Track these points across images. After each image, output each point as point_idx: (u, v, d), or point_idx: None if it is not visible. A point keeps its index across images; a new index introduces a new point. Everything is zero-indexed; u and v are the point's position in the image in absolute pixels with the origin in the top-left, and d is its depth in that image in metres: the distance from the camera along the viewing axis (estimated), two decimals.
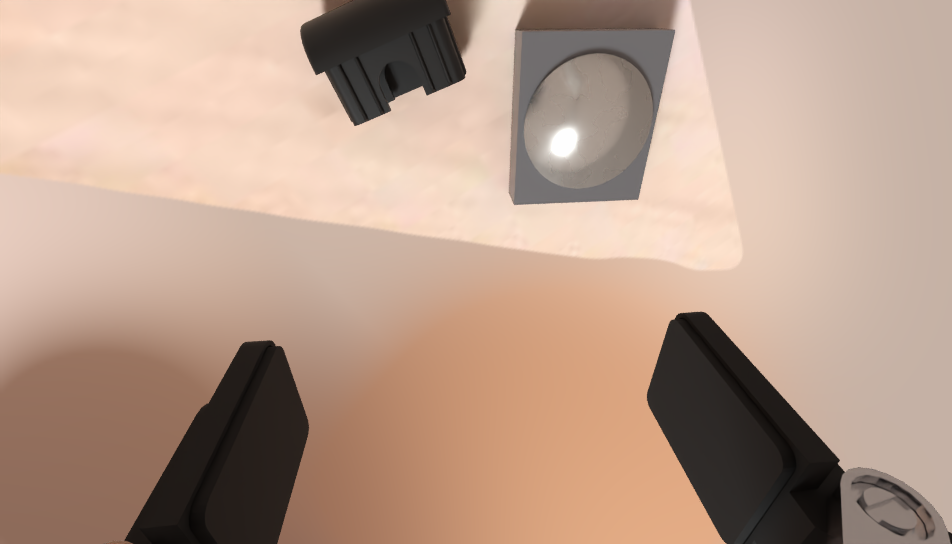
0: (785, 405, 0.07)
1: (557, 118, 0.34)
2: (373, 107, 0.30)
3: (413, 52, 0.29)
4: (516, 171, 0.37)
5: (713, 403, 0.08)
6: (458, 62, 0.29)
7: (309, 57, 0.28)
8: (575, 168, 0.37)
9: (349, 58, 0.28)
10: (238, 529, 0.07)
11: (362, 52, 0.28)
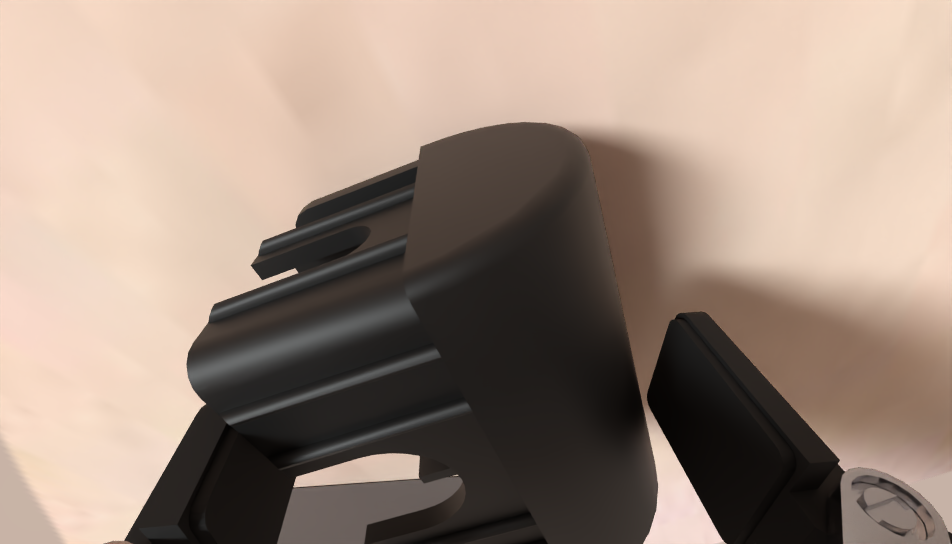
0: (785, 405, 0.07)
1: None
2: (290, 439, 0.07)
3: (488, 521, 0.09)
4: None
5: (713, 403, 0.08)
6: None
7: (490, 257, 0.05)
8: None
9: (482, 417, 0.06)
10: (238, 529, 0.07)
11: (502, 453, 0.07)
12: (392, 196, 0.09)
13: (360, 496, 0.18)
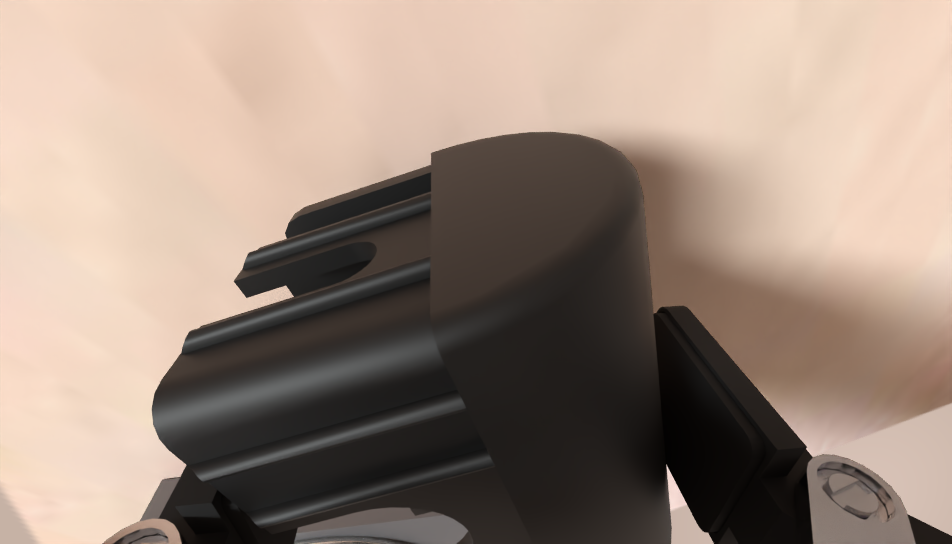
0: (757, 395, 0.07)
1: None
2: (275, 493, 0.06)
3: None
4: None
5: (690, 394, 0.09)
6: None
7: (539, 300, 0.04)
8: None
9: (509, 479, 0.05)
10: None
11: (527, 517, 0.06)
12: (401, 208, 0.08)
13: None
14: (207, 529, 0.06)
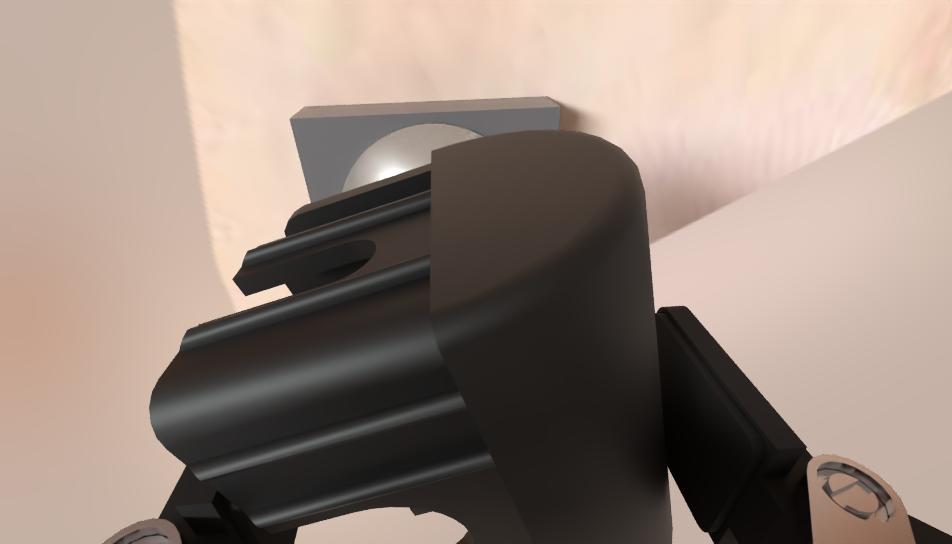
0: (757, 395, 0.07)
1: None
2: (273, 492, 0.06)
3: None
4: (353, 117, 0.21)
5: (690, 394, 0.09)
6: None
7: (540, 297, 0.04)
8: None
9: (509, 478, 0.05)
10: None
11: (527, 516, 0.06)
12: (400, 206, 0.08)
13: (432, 103, 0.23)
14: (207, 529, 0.06)
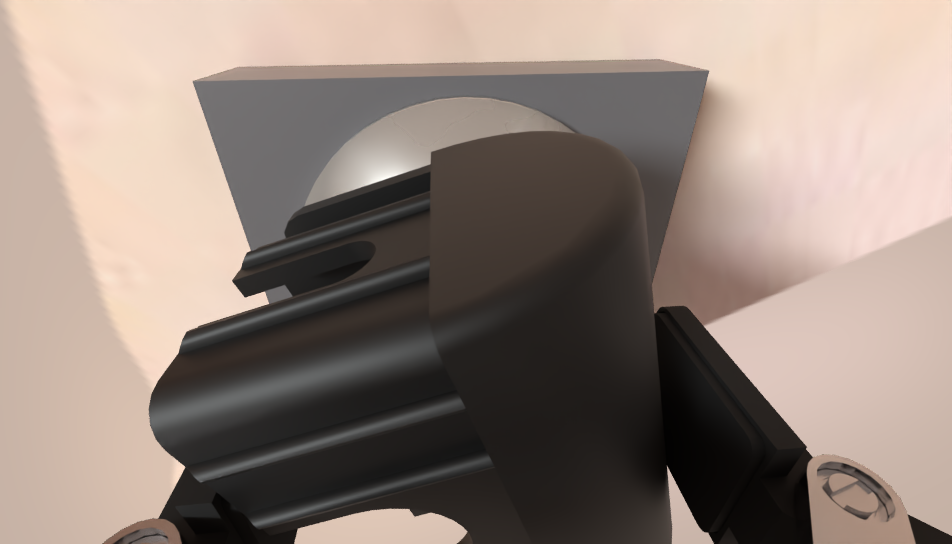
0: (757, 395, 0.07)
1: None
2: (273, 494, 0.06)
3: None
4: (319, 82, 0.11)
5: (690, 394, 0.09)
6: None
7: (539, 299, 0.04)
8: None
9: (508, 480, 0.05)
10: None
11: (526, 518, 0.06)
12: (400, 208, 0.08)
13: (465, 65, 0.13)
14: (207, 529, 0.06)
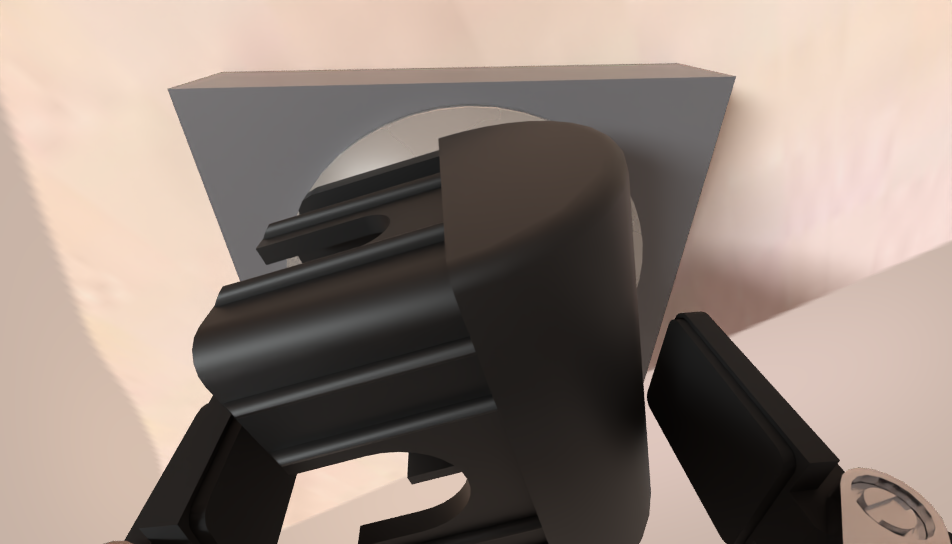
0: (785, 405, 0.07)
1: None
2: (296, 433, 0.07)
3: (488, 525, 0.09)
4: (308, 89, 0.10)
5: (713, 403, 0.08)
6: None
7: (538, 251, 0.05)
8: None
9: (506, 417, 0.06)
10: (238, 529, 0.07)
11: (521, 455, 0.07)
12: (411, 186, 0.08)
13: (468, 69, 0.12)
14: None
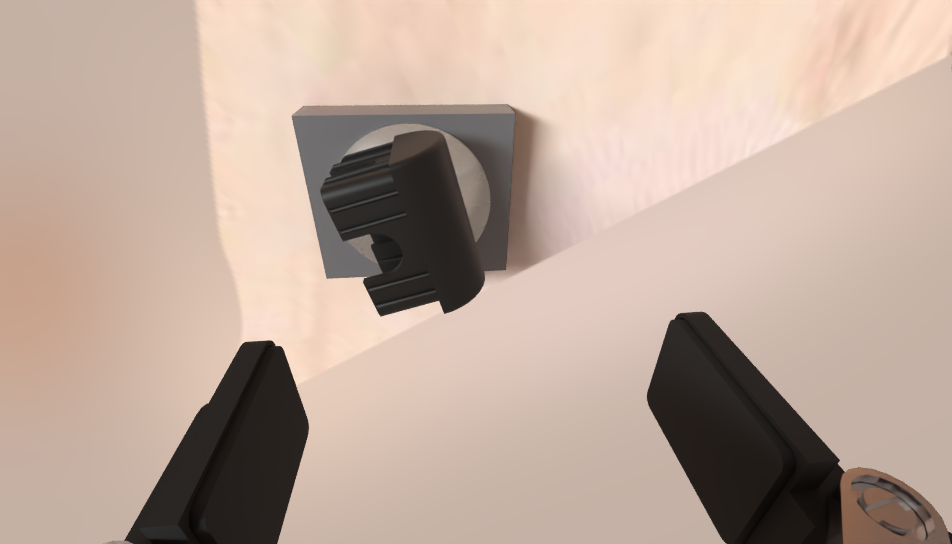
0: (785, 405, 0.07)
1: None
2: (346, 222, 0.23)
3: (410, 274, 0.25)
4: (344, 116, 0.26)
5: (713, 403, 0.08)
6: (398, 311, 0.27)
7: (410, 162, 0.21)
8: None
9: (407, 212, 0.22)
10: (238, 529, 0.07)
11: (413, 228, 0.23)
12: (383, 152, 0.24)
13: (411, 106, 0.28)
14: None
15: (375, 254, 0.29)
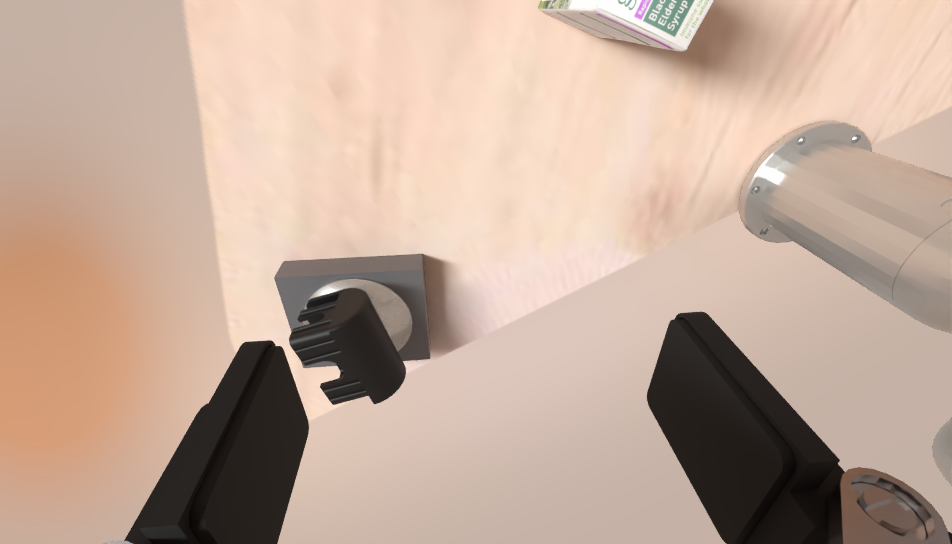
0: (785, 405, 0.07)
1: None
2: (306, 356, 0.37)
3: (350, 381, 0.39)
4: (308, 276, 0.40)
5: (713, 403, 0.08)
6: (345, 401, 0.41)
7: (341, 326, 0.35)
8: None
9: (342, 352, 0.36)
10: (238, 529, 0.07)
11: (347, 360, 0.36)
12: (331, 305, 0.38)
13: (355, 260, 0.42)
14: None
15: None
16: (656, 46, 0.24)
